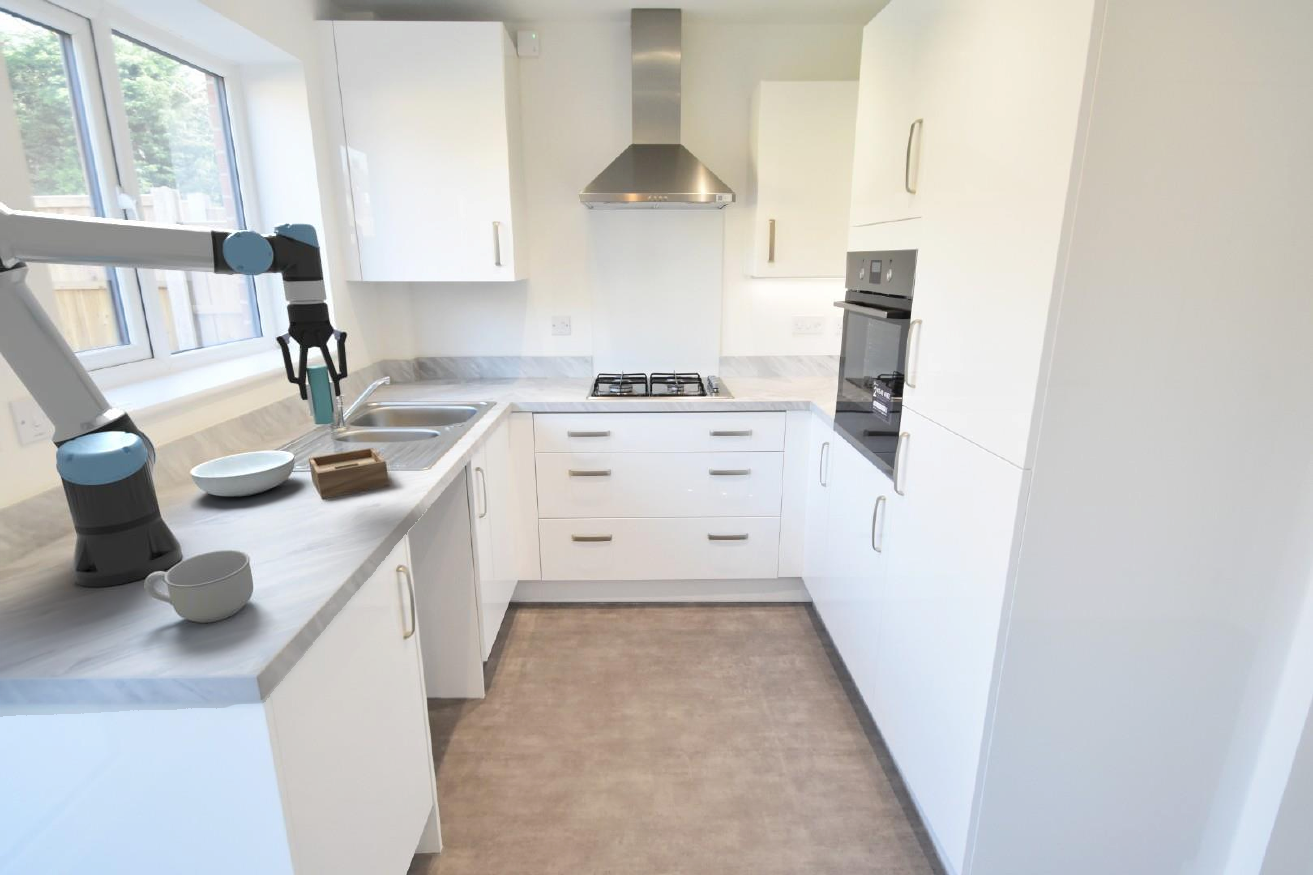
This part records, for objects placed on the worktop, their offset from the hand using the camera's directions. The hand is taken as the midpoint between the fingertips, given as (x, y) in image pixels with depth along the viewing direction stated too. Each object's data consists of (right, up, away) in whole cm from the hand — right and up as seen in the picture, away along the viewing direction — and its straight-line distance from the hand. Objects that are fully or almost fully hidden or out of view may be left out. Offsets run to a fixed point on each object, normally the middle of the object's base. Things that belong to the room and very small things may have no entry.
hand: (323, 412), depth 141 cm
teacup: (+3, -33, -41) cm, 52 cm away
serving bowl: (-25, -18, +14) cm, 33 cm away
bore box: (-2, -17, +17) cm, 23 cm away
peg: (0, -2, +1) cm, 2 cm away
